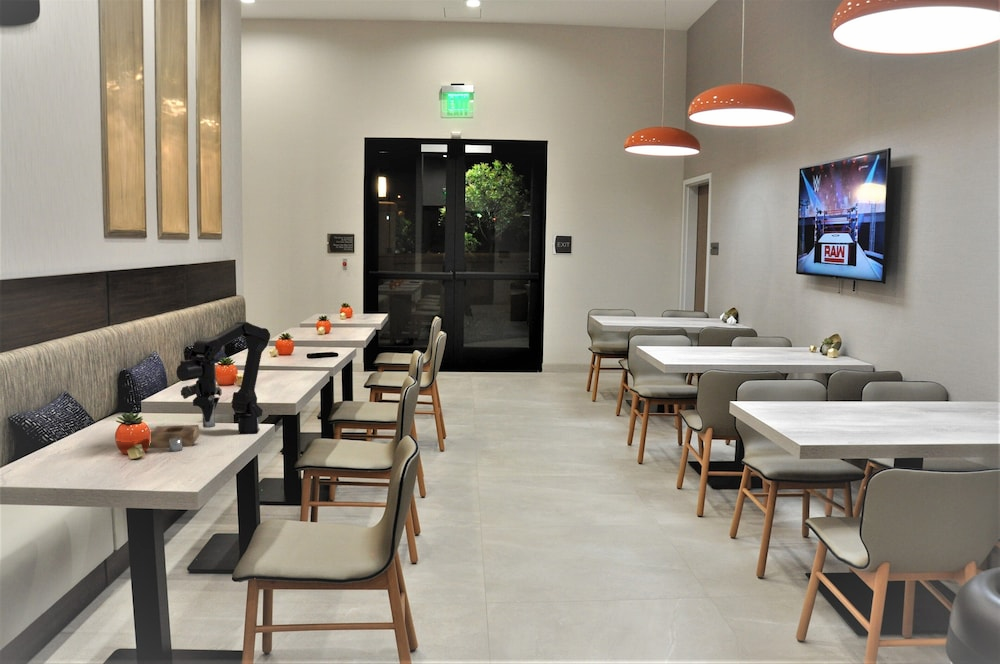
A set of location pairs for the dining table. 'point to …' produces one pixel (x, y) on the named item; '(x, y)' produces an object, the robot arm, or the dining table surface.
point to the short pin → (175, 444)
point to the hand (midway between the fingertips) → (208, 420)
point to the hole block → (174, 435)
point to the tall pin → (211, 422)
